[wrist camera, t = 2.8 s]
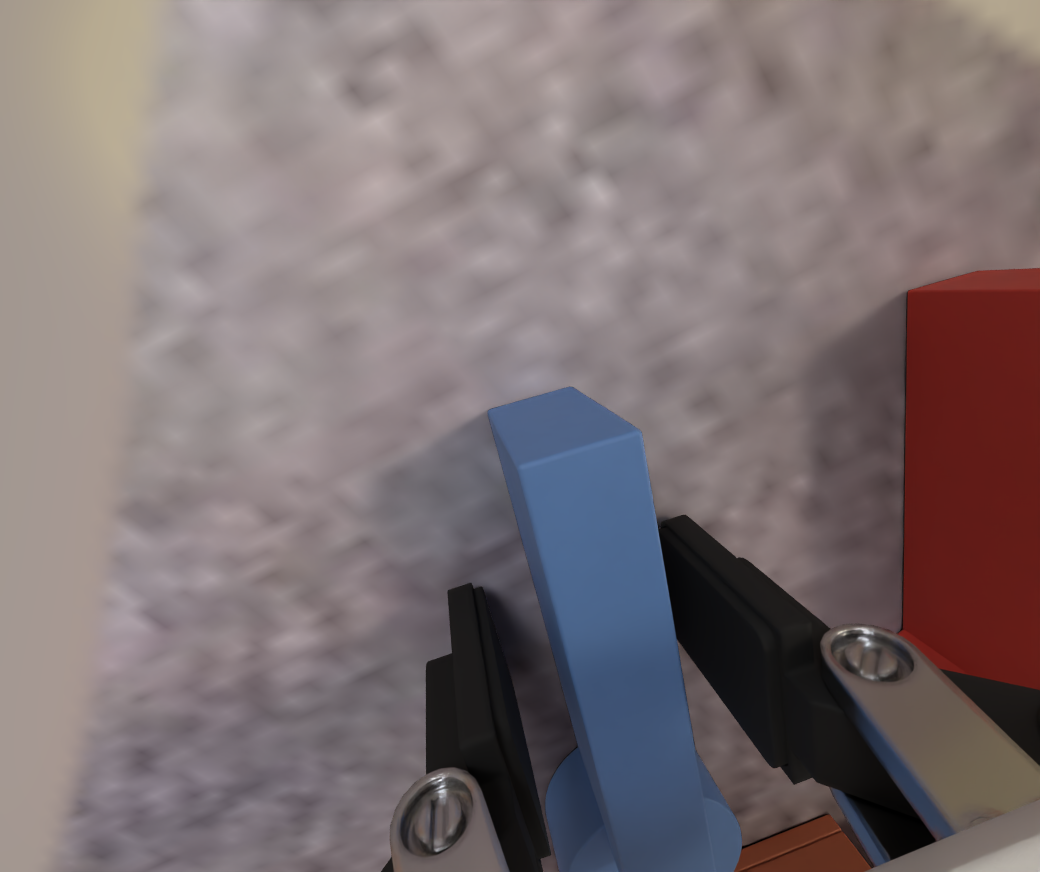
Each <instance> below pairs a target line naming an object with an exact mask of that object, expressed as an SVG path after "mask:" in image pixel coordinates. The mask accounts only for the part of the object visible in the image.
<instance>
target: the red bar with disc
mask: <svg viewBox="0 0 1040 872" xmlns="http://www.w3.org/2000/svg"><path fill="white" fill-rule="evenodd" d="M898 635H900V636H902V637H904V638H905V639H907V640H908V641H909V642H911V643H912V644H913V645H915V646H916V647H917V648H918V649H919V650H920V651H921V652H922V653H923V654H924V655H925V656H926V657H927V658H928V659H929V660H930V661H931V662H932V663H934V664H935V665H936V666H937V667H938V668H939V669H944V670H949V671H953V672H958V673H963V674H967V675H972V676H977V677H981V678H986V679H991V680H996V681H1000V682H1005V683H1010V684H1014V685H1019V686H1024V687H1028V688H1033V689H1038V690H1040V268H1033V269H1009V270H985V271H975V272H972V273H968V274H965V275H961V276H958V277H954V278H951V279H947V280H944V281H940V282H937V283H933V284H929V285H926V286H922V287H919V288H915V289H912V290H909V291H908V299H907V370H906V442H905V513H904V584H903V630H901V631H900V632H899V633H898Z"/></svg>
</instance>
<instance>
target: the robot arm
mask: <svg viewBox="0 0 1040 872" xmlns="http://www.w3.org/2000/svg"><path fill="white" fill-rule="evenodd" d="M660 527H661V529H658V532H659V538H660V544H661V549H662V555H663V561H664V567H665V573H666V579H667V585H668V591H669V597H670V603H671V609H672V615H673V621H674V626H675V632H676V638H677V640H678V641H679V642H680V644H681V645H682V646H683V648H684V649H685V651H686V652H687V653H688V655H689V656H690V657H691V659H692V660H693V661H694V663H695V664H696V666H697V667H698V668H699V670H700V671H701V672H702V674H703V675H704V677H705V678H706V679H707V681H708V682H709V683H710V685H711V686H712V688H713V689H714V690H715V692H716V693H717V694H718V696H719V697H720V699H721V700H722V701H723V703H724V704H725V705H726V707H727V708H728V709H729V711H730V712H731V714H732V715H733V716H734V718H735V719H736V720H737V722H738V723H739V725H740V726H741V727H742V729H743V730H744V731H745V733H746V734H747V736H748V737H749V738H750V740H751V741H752V742H753V744H754V745H755V747H756V748H757V749H758V751H759V752H760V753H761V755H762V756H763V758H764V759H765V760H766V762H767V763H768V764H769V765H770V766H771V767H772V768H777V767H781V768H782V770H783V771H784V772H785V774H786V775H787V776H788V778H789V779H790V780H791V782H792V783H793V784H794V785H795V784H797V783H800V782H802V781H805V780H807V779H810V778H814V780H815V781H816V782H817V783H820V784H823V785H826V786H828V787H829V788H830V790H831V793H832V795H833V797H834V799H835V801H836V802H837V804H838V806H839V807H840V809H841V811H842V813H843V814H844V816H845V818H846V819H847V821H848V823H849V825H850V826H851V828H852V830H853V831H854V833H855V835H856V837H857V838H858V840H859V842H860V843H861V845H862V847H863V848H864V850H865V852H866V854H867V855H868V857H869V859H870V860H871V862H872V864H873V866H874V868H872V869H870V870H867V871H865V872H1040V690H1038V689H1033V688H1028V687H1024V686H1019V685H1014V684H1010V683H1005V682H1000V681H996V680H991V679H986V678H981V677H977V676H972V675H967V674H963V673H958V672H953V671H949V670H944V669H939V668H938V667H937V666H936V665H935V664H934V663H932V662H931V661H930V660H929V659H928V658H927V657H926V656H925V655H924V654H923V653H922V652H921V651H920V650H919V649H918V648H917V647H916V646H915V645H913V644H912V643H911V642H909V641H908V640H907V639H905V638H904V637H902V636H900V635H898V634H896V633H894V632H892V631H890V630H887V629H884V628H881V627H877V626H874V625H866V624H844V625H841V626H837V627H834V628H832V629H830V628H829V627H828V626H827V625H825V624H824V623H823V622H822V621H820V620H819V619H818V618H817V617H816V616H814V615H813V614H812V613H811V612H810V611H808V610H807V609H806V608H805V607H804V606H802V605H801V604H800V603H799V602H798V601H796V600H795V599H794V598H793V597H791V596H790V595H789V594H788V593H787V592H785V591H784V590H783V589H782V588H781V587H779V586H778V585H777V584H776V583H775V582H773V581H772V580H771V579H770V578H768V577H767V576H766V575H765V574H764V573H762V572H761V571H760V570H759V569H758V568H756V567H755V566H754V565H753V564H752V563H750V562H749V561H748V560H746V559H744V558H736V557H735V556H734V555H733V554H731V553H730V552H729V551H728V550H727V549H726V548H724V547H723V546H722V545H721V544H720V543H719V542H717V541H716V540H715V539H714V538H713V537H711V536H710V535H709V534H708V533H707V532H706V531H704V530H703V529H702V528H701V527H700V526H698V525H697V524H696V523H695V522H694V521H693V520H691V519H690V518H689V517H688V516H686V515H681V516H678V517H675V518H672V519H669V520H666V521H663V522H662V523H661V526H660ZM448 605H449V618H450V631H451V645H452V654H449V655H446V656H443V657H440V658H437V659H434V660H431V661H428V662H427V664H426V775H425V776H424V777H422V778H421V779H419V780H418V781H417V782H415V783H414V784H413V785H412V786H411V787H410V789H409V790H408V791H407V792H406V793H405V794H404V795H403V797H402V799H401V800H400V802H399V804H398V806H397V807H396V809H395V812H394V815H393V818H392V822H391V825H390V846H391V854H392V857H391V859H390V860H389V861H388V863H387V864H386V865H385V867H384V868H383V870H382V871H381V872H543V869H542V864H541V860H540V859H542V858H544V857H547V856H550V855H551V851H550V846H549V841H548V837H547V833H546V828H545V824H544V819H543V815H542V810H541V806H540V801H539V797H538V793H537V788H536V784H535V779H534V775H533V770H532V766H531V761H530V757H529V752H528V748H527V744H526V739H525V735H524V730H523V726H522V721H521V717H520V712H519V708H518V703H517V699H516V695H515V691H514V687H513V683H512V680H511V676H510V673H509V670H508V667H507V663H506V660H505V657H504V654H503V651H502V647H501V644H500V641H499V638H498V635H497V631H496V628H495V625H494V622H493V619H492V615H491V612H490V609H489V606H488V603H487V599H486V596H485V593H484V590H483V587H482V586H481V587H478V588H475V589H474V588H473V585H472V583H469V584H466V585H463V586H460V587H456V588H453V589H450V590H448Z"/></svg>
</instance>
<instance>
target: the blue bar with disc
mask: <svg viewBox="0 0 1040 872" xmlns="http://www.w3.org/2000/svg"><path fill="white" fill-rule="evenodd" d="M488 417H489V421H490V425H491V428H492V432H493V436H494V439H495V443H496V447H497V450H498V454H499V458H500V461H501V465H502V469H503V472H504V476H505V480H506V483H507V487H508V491H509V494H510V498H511V502H512V505H513V509H514V513H515V516H516V520H517V524H518V527H519V531H520V535H521V538H522V542H523V546H524V549H525V553H526V557H527V560H528V564H529V568H530V571H531V575H532V579H533V582H534V586H535V590H536V593H537V597H538V601H539V604H540V608H541V612H542V615H543V619H544V623H545V627H546V630H547V634H548V638H549V641H550V645H551V649H552V652H553V656H554V660H555V663H556V667H557V671H558V674H559V678H560V682H561V685H562V689H563V693H564V696H565V700H566V704H567V707H568V711H569V715H570V718H571V722H572V726H573V729H574V733H575V737H576V740H577V744H578V748H576V749H575V750H574V751H573V752H572V753H571V754H570V755H569V756H568V757H567V758H566V759H565V760H564V761H563V762H562V763H561V765H560V766H559V767H558V769H557V770H556V772H555V774H554V775H553V777H552V779H551V781H550V784H549V786H548V790H547V793H546V800H545V812H546V816H547V821H548V825H549V830H550V834H551V838H552V842H553V847H554V851H555V855H556V860H557V864H558V868H559V872H734V870H735V868H736V865H737V863H738V861H739V857H740V854H741V847H742V835H741V830H740V826H739V824H738V821H737V819H736V817H735V816H734V814H733V812H732V811H731V809H730V807H729V805H728V804H727V802H726V800H725V799H724V797H723V795H722V794H721V792H720V790H719V789H718V787H717V785H716V784H715V782H714V780H713V778H712V777H711V775H710V773H709V772H708V770H707V768H706V767H705V765H704V763H703V762H702V760H701V758H700V756H699V755H698V753H697V751H696V750H695V745H694V739H693V733H692V727H691V721H690V715H689V709H688V703H687V697H686V692H685V686H684V680H683V674H682V668H681V662H680V656H679V650H678V644H677V638H676V632H675V626H674V621H673V615H672V609H671V603H670V597H669V591H668V585H667V579H666V573H665V567H664V561H663V555H662V549H661V544H660V538H659V532H658V526H657V520H656V514H655V508H654V502H653V496H652V490H651V484H650V478H649V473H648V467H647V461H646V455H645V449H644V443H643V437H642V432H641V431H640V430H639V429H638V428H636V427H635V426H633V425H632V424H630V423H628V422H627V421H625V420H624V419H622V418H620V417H619V416H617V415H616V414H614V413H613V412H611V411H609V410H608V409H606V408H605V407H603V406H602V405H600V404H598V403H597V402H595V401H594V400H592V399H591V398H589V397H587V396H586V395H584V394H583V393H581V392H579V391H578V390H576V389H575V388H573V387H567V388H563V389H560V390H556V391H553V392H549V393H546V394H542V395H539V396H535V397H531V398H528V399H524V400H521V401H517V402H514V403H510V404H507V405H503V406H500V407H496V408H493V409H490V410H489V411H488Z"/></svg>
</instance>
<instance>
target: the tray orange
mask: <svg viewBox="0 0 1040 872" xmlns="http://www.w3.org/2000/svg"><path fill="white" fill-rule="evenodd" d="M870 869H872V868H871V867H870V866H869V864H868V863H867V862H866V861H865V859H864V858H863V857H862V855H861V854H860V853H859V852H858V850H857V849H856V848H855V846H854V845H853V844H852V843H851V841H850V840H849V839H848V837H847V836H846V835H845V834H844V832H842V831H841V828H840V827H839V826H838V824H837V823H836V822H835V820H834V819H833V818H832V817H831V815H830V814H828V815H825V816H823V817H821V818H818V819H816V820H813V821H811V822H808V823H806V824H803V825H801V826H798V827H796V828H793V829H791V830H788V831H786V832H783V833H781V834H778V835H776V836H773V837H771V838H768V839H766V840H763V841H761V842H758V843H756V844H753V845H751V846H748V847H746V848H744V849H741V854H740V857H739V861H738V863H737V865H736V868H735V870H734V872H865V871H867V870H870Z"/></svg>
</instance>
